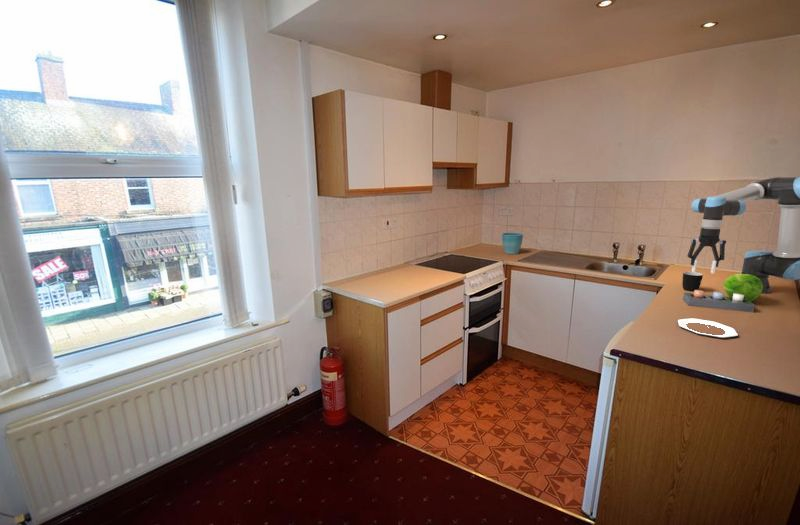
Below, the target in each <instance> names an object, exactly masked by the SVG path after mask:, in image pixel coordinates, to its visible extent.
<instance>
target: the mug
mask: <svg viewBox="0 0 800 525" xmlns="http://www.w3.org/2000/svg"><path fill="white" fill-rule="evenodd" d="M703 276H704V274H703V273H701V272H696V271H695V272H692V271H684V272H683V273H682V283H681V284H682V288H683V290H684V291H686V292H692V293H694V290H700V289H699V288H700V287H701V284H702V281H703Z"/></svg>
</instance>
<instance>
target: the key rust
mask: <svg viewBox="0 0 800 525" xmlns="http://www.w3.org/2000/svg"><path fill="white" fill-rule="evenodd" d="M693 294H694V296H693V297H696V298H703V296H704V295H705V291H704V290H702V289H698V290H694V292H693Z"/></svg>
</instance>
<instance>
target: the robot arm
mask: <svg viewBox="0 0 800 525" xmlns="http://www.w3.org/2000/svg"><path fill="white" fill-rule="evenodd" d="M759 200H776V201H777V205H778V206H779V207H780V216H779V218H780V219H779V227H778V228H779V229H778V234H777V235H778V236H777V245H776V250H775V251H772V250H749V251H746V253H745V254H744V257H743V264H742V269H741V273H740V274H749V275H753V276H756V277H757V278H759V279H760V280H761V282H762V285H763V289H762V292H761V294H768V293H771V284H770V280H769V278H770V277H774V278H780V279H783V280H790V281H797V280H799V279H800V176H793V177H792V176H790V177H789V176H788V177H787V176H786V177H780V176H779V177H778V176H777V177H770V178H766V179H762V180H758V181H755V182H751V183H749V184H748V185H746V186H744V187H741V188H737V189H734V190H732V191H728V192H725V193H721V194H718V195H715V196H708V197H707V198H696V199H694V200H692V203H691V210H692V212H694V213H698V214H703V217H702V222H701V228H700V233H699V236H698V238H691V240H690V241H691V244H690V247H689V249H688V250H689V251H688V253H687V255H686V256H687V258H689V259H691V260H690V265H691V266H692V267H691V272H696V270H697V269H696V268H697V265H698V259H697V258H698V256H699V254H700V253H701V251H702V250H703V249H704V248H705V247H710V248H711V250H712V254H713V257H714V259H713V260H712V262H711V267H710V273H711V274H714V275H715V272H716V268H718V267H719V262H720V261H724V260H725V255H726V254H725V252H726V251H725V249H726V248H725V247H726V243H727V240H725V239H720V234H721V228H722V223H723V219H724V216H733V217H734V216H739V215H742V214H744V213H745V212H746V210H747V204H746V202H749V201H759ZM698 242H699V244H698V247H697V248H696V246H697V243H698ZM718 243H719V253H718V250H717V245H716V244H718ZM695 248H696V250H695Z"/></svg>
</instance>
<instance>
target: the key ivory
mask: <svg viewBox="0 0 800 525" xmlns="http://www.w3.org/2000/svg"><path fill="white" fill-rule="evenodd" d="M743 298H744V295H743V294H738V293H734V294H733V298H732V301H737V302H743Z"/></svg>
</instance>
